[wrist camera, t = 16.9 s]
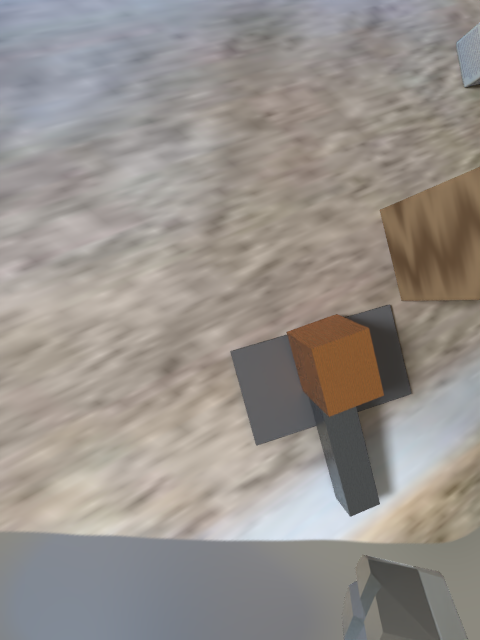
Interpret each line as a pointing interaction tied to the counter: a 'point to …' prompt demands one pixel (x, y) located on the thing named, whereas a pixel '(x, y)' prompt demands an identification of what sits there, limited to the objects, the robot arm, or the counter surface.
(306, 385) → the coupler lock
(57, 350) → the counter surface
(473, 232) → the stand
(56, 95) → the counter surface
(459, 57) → the medicine box
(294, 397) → the rubber mat
